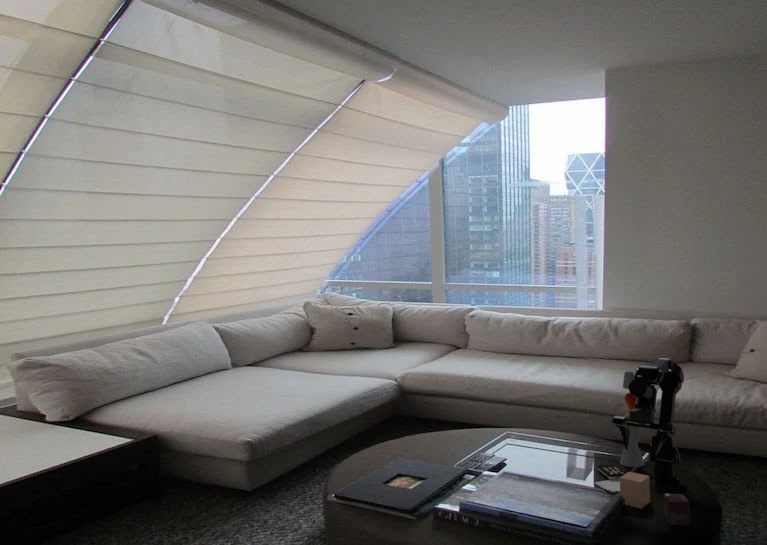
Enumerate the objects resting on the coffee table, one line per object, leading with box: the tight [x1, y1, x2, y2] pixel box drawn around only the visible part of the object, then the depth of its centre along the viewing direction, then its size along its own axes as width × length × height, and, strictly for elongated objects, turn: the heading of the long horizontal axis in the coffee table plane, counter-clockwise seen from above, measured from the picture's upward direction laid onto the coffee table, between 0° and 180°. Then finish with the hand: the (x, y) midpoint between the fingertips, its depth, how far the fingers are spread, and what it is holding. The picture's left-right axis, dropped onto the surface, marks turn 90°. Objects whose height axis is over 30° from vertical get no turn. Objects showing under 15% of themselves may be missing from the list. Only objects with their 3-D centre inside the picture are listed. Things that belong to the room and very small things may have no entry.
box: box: [663, 493, 691, 526], centre depth 197 cm, size 6×6×7 cm
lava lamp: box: [619, 370, 645, 468], centre depth 247 cm, size 9×9×35 cm
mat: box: [593, 479, 620, 492], centre depth 226 cm, size 10×10×1 cm
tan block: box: [619, 471, 651, 509], centre depth 212 cm, size 7×7×8 cm
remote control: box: [597, 463, 626, 480], centre depth 237 cm, size 6×13×2 cm, turn 2°
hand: (640, 451), depth 210 cm, fingers open, 9 cm apart
